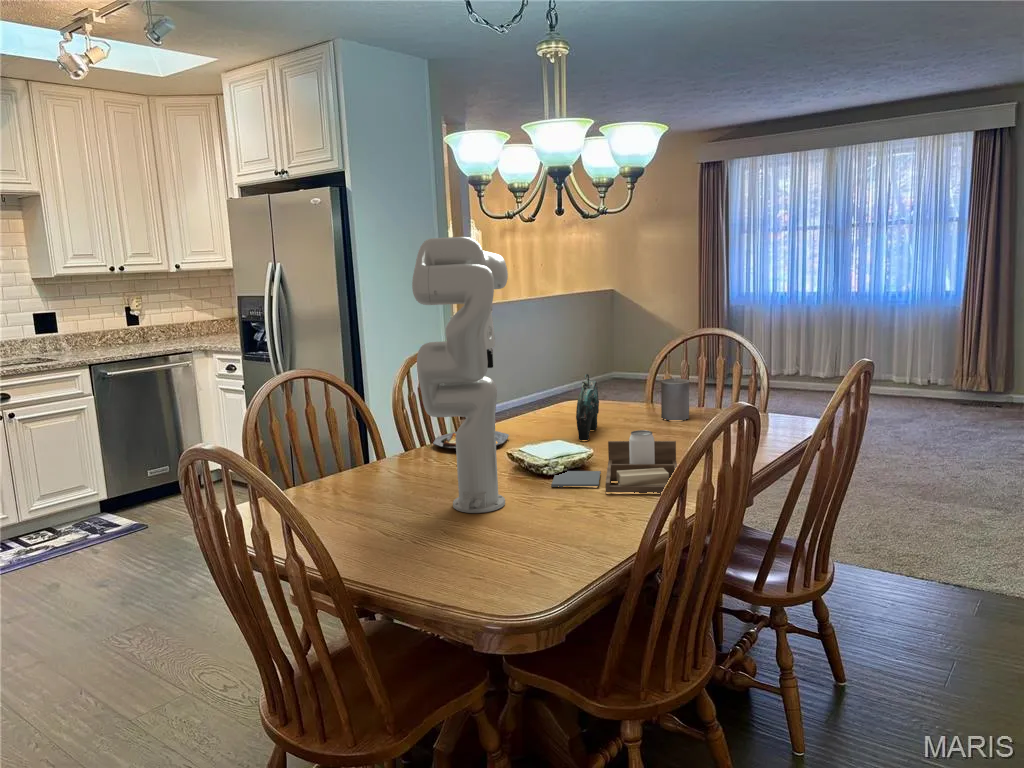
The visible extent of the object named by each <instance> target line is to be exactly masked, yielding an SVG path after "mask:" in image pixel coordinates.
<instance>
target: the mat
mask: <svg viewBox="0 0 1024 768" xmlns="http://www.w3.org/2000/svg"><path fill="white" fill-rule="evenodd" d="M566 471H567V472H565V473H562V474H559V475H555V474H554V477H553V479H552V481H551V487H558V486H559V487H563V486H599V487H600V483H599V480H600V481H601V477H600V474H601V475H602V473H601V470H566Z"/></svg>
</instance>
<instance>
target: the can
mask: <svg viewBox="0 0 1024 768" xmlns="http://www.w3.org/2000/svg"><path fill="white" fill-rule="evenodd" d="M628 439H629V440H628V441H629V451H630V464H655V449H654V441H655V437H654V435H653V431H650V430H645V429H642V430H633V431H631V432H630V436H629V438H628Z"/></svg>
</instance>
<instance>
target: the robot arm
mask: <svg viewBox="0 0 1024 768" xmlns="http://www.w3.org/2000/svg"><path fill="white" fill-rule="evenodd" d="M412 273H413V275H412V281H411V285H412V286H411V288H412V293H413V297H414V299H415V300H416V301H417V303H419V304H420V305H424V306H438V305H439V306H442V305H463V306H462V307H461V308H459V310H457V312H455V313H454V315H453V316H452V317H451V318H450V320H449V322H448V323H447V325H446V326H445V336H446V340H445V341H429V342H426V343H424V344H423V345H421V346H420V347H419V349H418V351H417V355H416V370H417V371H416V372H417V377H418V382H419V388H420V393H421V394H420V395H421V399H422V404H423V408H424V411H425V413H426V414H427V415H428V416H430V417H434V418H448V417H451V418H452V417H460V418H461V417H462V418H465V419H464V420H463V422H462V423H461V424H460V425H459V427H458V428H457V431H456V432H457V433H456V448H455V451H456V452H455V454H456V467H457V468H456V471H457V483H458V484H457V488H458V489H457V490H458V497H456V498H455V499H453V501H452V507H453V509H454V510H456V511H459V512H462V513H467V514H481V513H489V512H494V511H496V510H499V509H501V508H503V507H504V506H505V505H506V499H505V498H506V497H504V496H503V495H501V494H499V482H498V481H499V480H498V461H497V459H498V457H497V446H496V437H495V431H496V411H497V410H496V409H497V401H498V389H497V384H496V382H495V380H493V379H492V378H491V377H489V376H486V374H487V371H488V369H492V368H494V357H493V356H494V354H493V353H494V349H493V348H495V346H496V338H495V328H494V319H493V315H492V314H493V300H494V293H495V290H502V289H504V288H505V286H506V285H507V282H508V277H509V273H508V268H507V264H506V260H505V259H504V257H503V256H502V255H500V254H498V253H494V252H491V251H485V250H483V248H482V246H481V244H480V243H479V242H478V241H477V240H475V239H474V238H471V237H467V236H451V237H450V236H449V237H432V238H428V239H426V240H424V241H423V242H422V244H421V245H420V247H419V249H418V252H417V256H416V260H415V265H414V270H413V272H412Z"/></svg>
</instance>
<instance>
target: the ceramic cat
mask: <svg viewBox="0 0 1024 768" xmlns="http://www.w3.org/2000/svg"><path fill="white" fill-rule="evenodd" d="M584 378H585V380H584V381H582V382H581V383H582V384H581V388H580V389H581V390H580V392H579V394H578V398H577V402H576V414H575V420H576V427H577V433H578V435H577V436H578V441H579V440H588V439H589V440H590V434H591V433H590V432H591V431H590V430H596V431H597V429H598V414H599V411H600V408H599V407H600V399H599V387H598V383H597V381H596V380H590V375H589V374H588V373H585V374H584ZM596 428H597V429H596Z"/></svg>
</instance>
